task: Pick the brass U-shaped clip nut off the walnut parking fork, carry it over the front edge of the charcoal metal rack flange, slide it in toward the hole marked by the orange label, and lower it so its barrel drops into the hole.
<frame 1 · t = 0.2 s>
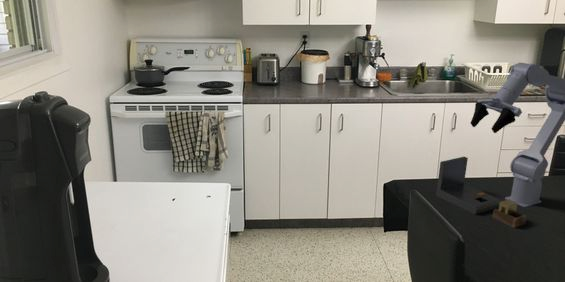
hand: (482, 128, 148), 30 cm above the table, tool tilted 45°, fingers open, 7 cm apart
rack: (466, 201, 169), on the table
clip nut: (507, 210, 155), in the parking fork
parking fork: (505, 219, 156), on the table
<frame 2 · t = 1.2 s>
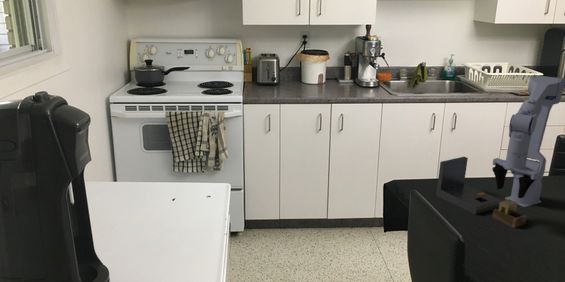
hand: (510, 192, 153), 10 cm above the table, tool pointing down, fingers open, 7 cm apart
nothing on the table moved.
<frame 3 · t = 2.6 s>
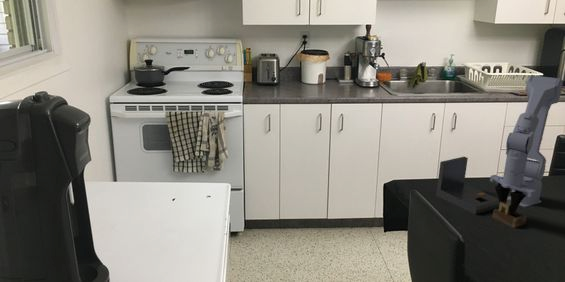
hand: (507, 209, 155), 4 cm above the table, tool pointing down, fingers closed on clip nut, 3 cm apart
clip nut: (507, 210, 155), in the parking fork, touching gripper
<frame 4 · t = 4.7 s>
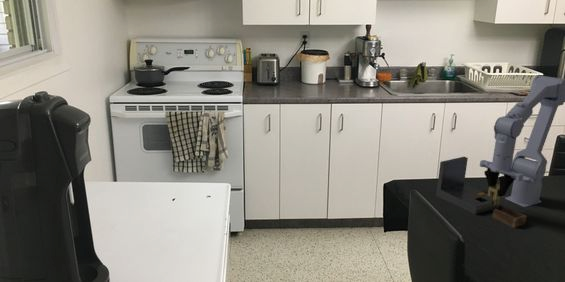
hand: (496, 193, 158), 7 cm above the table, tool pointing down, fingers closed on clip nut, 3 cm apart
clip nut: (496, 195, 158), point 7 cm above the table, touching gripper
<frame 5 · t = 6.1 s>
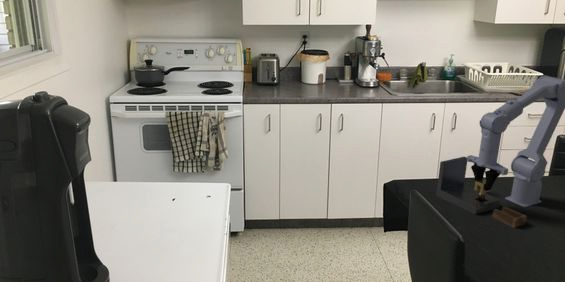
hand: (483, 188, 162), 7 cm above the table, tool pointing down, fingers closed on clip nut, 3 cm apart
clip nut: (482, 189, 163), point 7 cm above the table, touching gripper
when the fingers open (5 cm above the table, at t = 7.1 s): clip nut stays where it is, resting on rack.
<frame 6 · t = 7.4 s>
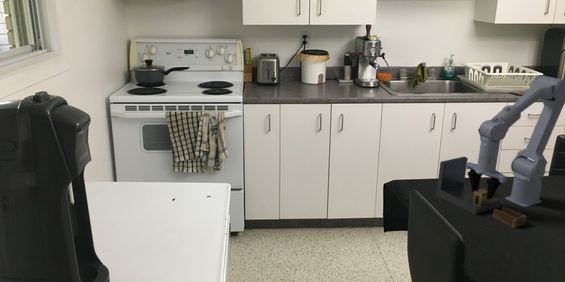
hand: (481, 195, 163), 5 cm above the table, tool pointing down, fingers open, 5 cm apart
clip nut: (481, 199, 164), resting on rack
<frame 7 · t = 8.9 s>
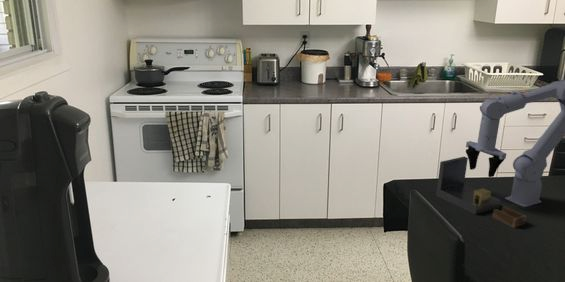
hand: (481, 172, 168), 10 cm above the table, tool pointing down, fingers open, 7 cm apart
nothing on the table moved.
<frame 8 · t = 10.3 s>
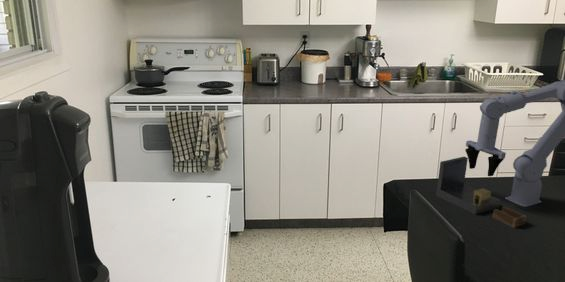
hand: (481, 171, 168), 10 cm above the table, tool pointing down, fingers open, 7 cm apart
nothing on the table moved.
at the end: clip nut 0.1 cm from the target spot on the rack, point 3.2 cm above the rack's base; clip nut tilted 0°; the gripper is holding nothing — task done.
